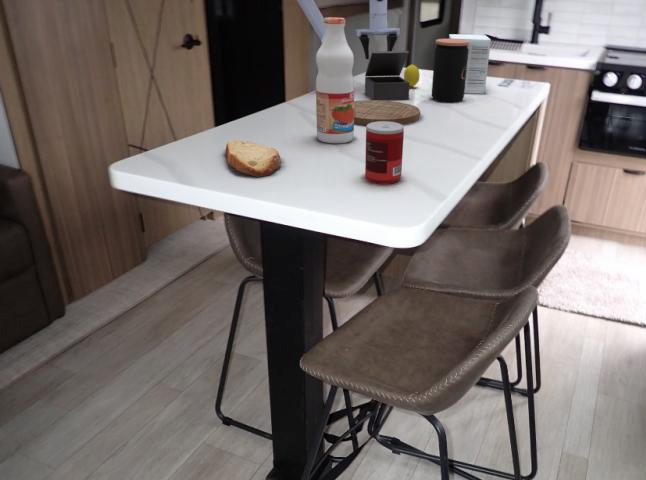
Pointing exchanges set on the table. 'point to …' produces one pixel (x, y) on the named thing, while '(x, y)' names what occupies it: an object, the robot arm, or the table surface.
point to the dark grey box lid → (386, 63)
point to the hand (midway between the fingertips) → (377, 58)
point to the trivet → (384, 112)
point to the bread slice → (252, 158)
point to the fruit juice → (335, 85)
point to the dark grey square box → (387, 88)
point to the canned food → (384, 152)
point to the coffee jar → (450, 70)
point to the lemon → (412, 75)
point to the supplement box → (476, 61)
